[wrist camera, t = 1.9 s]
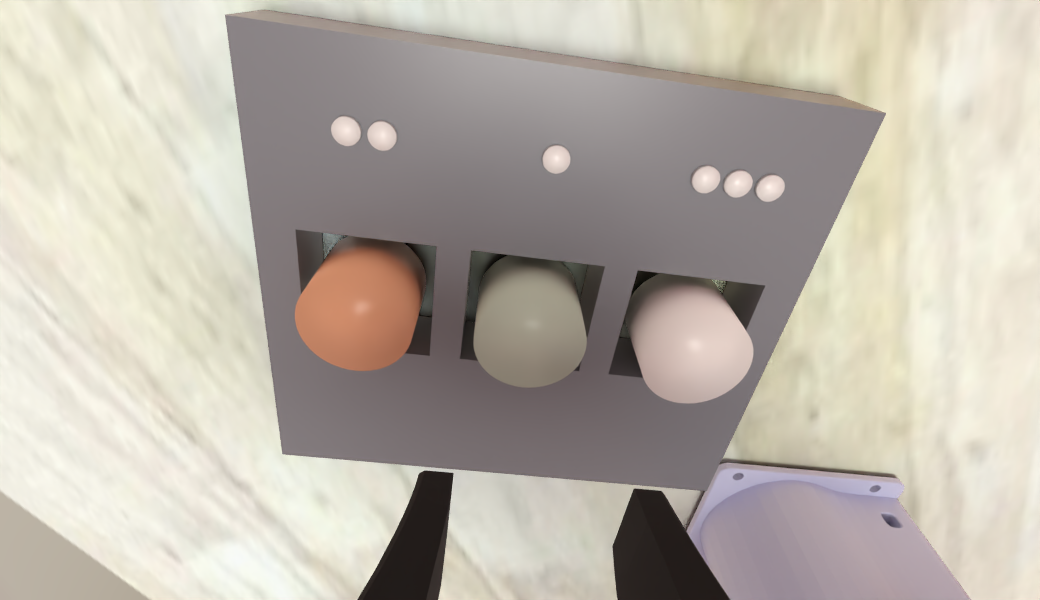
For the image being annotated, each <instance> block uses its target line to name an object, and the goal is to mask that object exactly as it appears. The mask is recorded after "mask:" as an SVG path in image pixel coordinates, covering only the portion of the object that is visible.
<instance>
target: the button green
mask: <svg viewBox="0 0 1040 600" xmlns="http://www.w3.org/2000/svg"><path fill="white" fill-rule="evenodd" d="M473 345H474V351H475V355H476V357H477V359H478V361H479V363H480V364H481V366H482V367H483V368H484V369H485V371H486V372H488V373H489V374H490V375H491V376H492V377H494V378H495V379H497V380H499V381H501V382H503V383H506V384H509V385H512V386H517V387H525V388H533V387H542V386H546V385H550V384H553V383H555V382H558V381H559V380H561V379H563V378H565V377H566V376H568V375H569V374H570V373H571V372H573V371H574V370H575V368H576V367H577V366H578V365H579V363H580V362H581V360H582V358H583V356H584V354H585V350H586V345H587V337H586V331H585V326H584V321H583V316H582V311H581V306H580V301H579V296H578V291H577V286H576V283H575V279H574V277H573V275H572V274H571V272H570V271H569V269H568V268H567V267H566V266H565V265H564V264H563V263H561V262H560V261H556V260H547V259H539V258H531V257H522V256H514V255H508V256H505V257H503V258H501V259H500V260H498V261H497V262H495V263H494V264H493V265H492V266H491V267H490V268H489V269H488V270H487V272H486V273H485V274H484V276H483V278H482V281H481V283H480V288H479V295H478V303H477V312H476V321H475V330H474V342H473Z"/></svg>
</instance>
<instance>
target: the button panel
mask: <svg viewBox="0 0 1040 600" xmlns="http://www.w3.org/2000/svg"><path fill="white" fill-rule="evenodd" d="M225 17H226V25H227V33H228V40H229V48H230V56H231V63H232V71H233V79H234V86H235V94H236V102H237V109H238V117H239V125H240V132H241V140H242V148H243V155H244V163H245V171H246V178H247V186H248V193H249V201H250V209H251V216H252V224H253V232H254V239H255V247H256V255H257V262H258V270H259V278H260V285H261V293H262V301H263V308H264V316H265V324H266V331H267V339H268V347H269V354H270V362H271V370H272V377H273V385H274V393H275V400H276V408H277V416H278V423H279V431H280V439H281V446H282V454H286V455H297V456H309V457H320V458H332V459H343V460H355V461H366V462H378V463H389V464H401V465H412V466H424V467H435V468H447V469H459V470H470V471H482V472H493V473H505V474H516V475H528V476H539V477H551V478H562V479H574V480H585V481H597V482H608V483H620V484H631V485H643V486H654V487H666V488H677V489H689V490H700V491H707V490H708V487H709V485H710V483H711V481H712V479H713V477H714V475H715V473H716V471H717V468H718V466H719V464H720V462H721V460H722V458H723V456H724V454H725V452H726V450H727V447H728V445H729V443H730V441H731V439H732V437H733V435H734V433H735V431H736V428H737V426H738V424H739V422H740V420H741V418H742V416H743V414H744V412H745V410H746V407H747V405H748V403H749V401H750V399H751V397H752V395H753V393H754V391H755V388H756V386H757V384H758V382H759V380H760V378H761V376H762V374H763V372H764V369H765V367H766V365H767V363H768V361H769V359H770V357H771V355H772V353H773V351H774V348H775V346H776V344H777V342H778V340H779V338H780V336H781V334H782V332H783V329H784V327H785V325H786V323H787V321H788V319H789V317H790V315H791V313H792V311H793V308H794V306H795V304H796V302H797V300H798V298H799V296H800V294H801V292H802V289H803V287H804V285H805V283H806V281H807V279H808V277H809V275H810V273H811V271H812V268H813V266H814V264H815V262H816V260H817V258H818V256H819V254H820V252H821V249H822V247H823V245H824V243H825V241H826V239H827V237H828V235H829V233H830V231H831V228H832V226H833V224H834V222H835V220H836V218H837V216H838V214H839V212H840V209H841V207H842V205H843V203H844V201H845V199H846V197H847V195H848V193H849V190H850V188H851V186H852V184H853V182H854V180H855V178H856V176H857V174H858V172H859V169H860V167H861V165H862V163H863V161H864V159H865V157H866V155H867V153H868V150H869V148H870V146H871V144H872V142H873V140H874V138H875V136H876V134H877V132H878V129H879V127H880V125H881V123H882V121H883V119H884V117H885V115H886V113H884V112H881V111H879V110H876V109H873V108H870V107H868V106H865V105H862V104H859V103H857V102H854V101H851V100H848V99H846V98H843V97H840V96H834V95H828V94H821V93H814V92H808V91H801V90H794V89H788V88H781V87H774V86H768V85H761V84H754V83H748V82H741V81H735V80H728V79H721V78H715V77H708V76H701V75H695V74H688V73H681V72H675V71H668V70H661V69H655V68H648V67H642V66H635V65H628V64H622V63H615V62H608V61H602V60H595V59H588V58H582V57H575V56H568V55H562V54H555V53H549V52H542V51H535V50H529V49H522V48H515V47H509V46H502V45H495V44H489V43H482V42H475V41H469V40H462V39H456V38H449V37H442V36H436V35H429V34H422V33H416V32H409V31H402V30H396V29H389V28H383V27H376V26H369V25H363V24H356V23H349V22H343V21H336V20H329V19H323V18H316V17H309V16H303V15H296V14H290V13H283V12H276V11H270V10H258V11H251V12H243V13H235V14H227V15H225ZM322 233H330V234H338V235H347V236H355V237H363V238H372V239H380V240H388V241H397V242H405V243H414V244H422V245H430V246H437V247H436V263H435V279H434V295H433V311H432V317H424V316H418V319H417V322H416V326H415V329H414V333H413V337H412V340H411V343H410V345H409V348H408V349H407V351H406V352H405V354H404V355H403V356H402V357H401V358H400V359H398V360H397V361H396V362H394V363H393V364H391V365H389V366H387V367H384V368H381V369H377V370H371V371H354V370H348V369H344V368H340V367H338V366H335V365H332V364H330V363H328V362H326V361H325V360H323V359H321V358H320V357H319V356H317V355H316V354H315V353H314V352H312V351H311V350H310V349H309V348H308V346H307V345H306V344H305V343H304V341H303V340H302V338H301V336H300V334H299V332H298V330H297V327H296V322H295V308H296V304H297V301H298V299H299V297H300V295H301V294H302V292H303V291H304V289H305V288H306V286H307V285H308V283H309V282H310V280H311V279H312V277H313V276H314V274H315V273H316V272H317V270H318V269H319V267H320V266H321V264H322V263H323V261H324V256H323V239H322ZM473 251H481V252H489V253H497V254H506V255H514V256H522V257H531V258H539V259H547V260H556V261H564V262H573V263H581V264H588V268H587V273H586V277H585V281H584V286H583V290H582V294H581V299H580V306H581V311H582V316H583V321H584V326H585V331H586V337H587V345H586V350H585V354H584V356H583V358H582V360H581V362H580V363H579V365H578V366H577V367H576V368H575V370H574V371H573V372H571V373H570V374H569V375H568V376H566V377H565V378H563V379H561V380H559V381H558V382H555V383H553V384H550V385H546V386H542V387H533V388H525V387H517V386H512V385H509V384H506V383H503V382H501V381H499V380H497V379H495V378H494V377H492V376H491V375H490V374H489V373H488V372H486V371H485V369H484V368H483V367H482V366H481V364H480V363H479V361H478V359H477V357H476V355H475V351H474V345H473V342H474V330H475V322H470V321H466V311H467V301H468V291H469V281H470V271H471V262H472V252H473ZM638 270H640V271H648V272H656V273H665V274H673V275H681V276H690V277H698V278H706V279H715V280H723V281H727V284H726V286H725V289H724V292H723V294H722V295H723V296H724V298H725V300H726V301H727V303H728V304H729V306H730V307H731V309H732V310H733V312H734V313H735V315H736V316H737V318H738V319H739V321H740V322H741V324H742V325H743V327H744V328H745V330H746V331H747V333H748V335H749V336H750V338H751V341H752V344H753V359H752V363H751V366H750V368H749V370H748V372H747V374H746V375H745V376H744V378H743V379H742V380H741V381H740V382H739V383H738V384H737V385H736V386H735V387H734V388H732V389H731V390H729V391H728V392H726V393H725V394H723V395H721V396H719V397H717V398H714V399H711V400H708V401H704V402H699V403H689V404H687V403H676V402H672V401H668V400H666V399H663V398H661V397H659V396H658V395H656V394H655V393H654V392H652V390H651V389H650V388H649V387H648V386H647V384H646V383H645V381H644V378H643V375H642V372H641V369H640V366H639V363H638V360H637V357H636V354H635V351H634V348H633V344H632V341H631V339H626V338H619V335H620V331H621V328H622V324H623V321H624V317H625V314H626V310H627V307H628V303H629V300H630V296H631V292H632V289H633V285H634V282H635V278H636V275H637V271H638Z"/></svg>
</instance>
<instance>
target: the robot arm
mask: <svg viewBox="0 0 1040 600" xmlns="http://www.w3.org/2000/svg"><path fill="white" fill-rule="evenodd" d="M452 482H453V473H447V472H436V471H423V472H421V473H420V474H419V475H418V479H417V482H416V485H415V488H414V491H413V493H412V496H411V499H410V501H409V504H408V506H407V508H406V510H405V513H404V515H403V517H402V519H401V521H400V523H399V525H398V528H397V530H396V532H395V534H394V536H393V537H392V539H391V541H390V543H389V545H388V547H387V549H386V551H385V553H384V555H383V556H382V558H381V560H380V562H379V564H378V566H377V568H376V569H375V571H374V573H373V575H372V576H371V578H370V580H369V581H368V583H367V585H366V586H365V588H364V590H363V591H362V593H361V595H360V596H359V598H358V600H438V597H439V592H440V587H441V580H442V572H443V563H444V555H445V546H446V538H447V529H448V520H449V510H450V501H451V491H452ZM903 490H904V485H903V484H902V482H901V481H900V480H899V479H897V478H890V477H879V476H868V475H857V474H846V473H836V472H825V471H814V470H803V469H792V468H781V467H770V466H759V465H748V464H737V463H723V464H720V465H719V466H718V468H717V471H716V473H715V475H714V477H713V479H712V481H711V483H710V485H709V487H708V490H707V491H705V493H704V495H703V497H702V499H701V501H700V503H699V505H698V508H697V510H696V512H695V514H694V516H693V518H692V520H691V522H690V524H689V527H688V529H687V531H686V530H685V528H684V527H683V525H682V523H681V522H680V520H679V518H678V517H677V515H676V513H675V512H674V510H673V508H672V507H671V505H670V503H669V502H668V500H667V498H666V497H665V495H664V494H663V492H662V491H656V490H644V489H634V490H633V493H632V495H631V498H630V501H629V503H628V506H627V509H626V512H625V514H624V517H623V520H622V522H621V525H620V528H619V531H618V533H617V536H616V539H615V541H614V544H613V557H614V570H615V580H616V590H617V598H618V600H971V599H970V598H969V596H968V595H967V593H966V592H965V591H964V589H963V588H962V587H961V585H960V584H959V583H958V581H957V580H956V578H955V577H954V576H953V574H952V573H951V572H950V570H949V569H948V568H947V566H946V565H945V564H944V562H943V561H942V559H941V558H940V557H939V555H938V554H937V553H936V551H935V550H934V549H933V547H932V546H931V544H930V543H929V542H928V540H927V539H926V538H925V536H924V535H923V534H922V532H921V531H920V530H919V528H918V527H917V525H916V524H915V523H914V521H913V520H912V519H911V517H910V516H909V515H908V513H907V512H906V510H905V509H904V508H903V506H902V505H901V504H900V502H899V501H898V500H897V498H898V497H899V496H900V495H901V493H902V492H903Z"/></svg>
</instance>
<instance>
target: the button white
mask: <svg viewBox="0 0 1040 600" xmlns="http://www.w3.org/2000/svg"><path fill="white" fill-rule="evenodd" d="M625 321H626V326H627V329H628V332H629V335H630V338H631V341H632V344H633V348H634V351H635V354H636V357H637V360H638V363H639V366H640V369H641V372H642V375H643V378H644V381H645V383H646V384H647V386H648V387H649V388H650V389H651V390H652V392H654V393H655V394H656V395H658V396H659V397H661V398H663V399H666V400H668V401H672V402H676V403H687V404H689V403H699V402H704V401H708V400H711V399H714V398H717V397H719V396H721V395H723V394H725V393H726V392H728V391H729V390H731V389H732V388H734V387H735V386H736V385H737V384H738V383H739V382H740V381H741V380H742V379H743V378H744V376H745V375H746V374H747V372H748V370H749V368H750V366H751V363H752V359H753V344H752V341H751V338H750V336H749V335H748V333H747V331H746V330H745V328H744V327H743V325H742V324H741V322H740V321H739V319H738V318H737V316H736V315H735V313H734V312H733V310H732V309H731V307H730V306H729V304H728V303H727V301H726V300H725V298H724V296H723V295H722V293H721V292H720V290H719V289H718V287H717V286H716V285H715V283H714V282H713V281H712V280H710V279H706V278H698V277H690V276H681V275H673V274H665V273H661V274H658V275H656V276H654V277H652V278H650V279H648V280H647V281H646V282H644V283H643V284H642V285H641V286H639V287H638V289H637V290H636V291H635V292H634V293H633V295H632V296H631V298H630V300H629V303H628V307H627V310H626V314H625Z"/></svg>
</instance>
